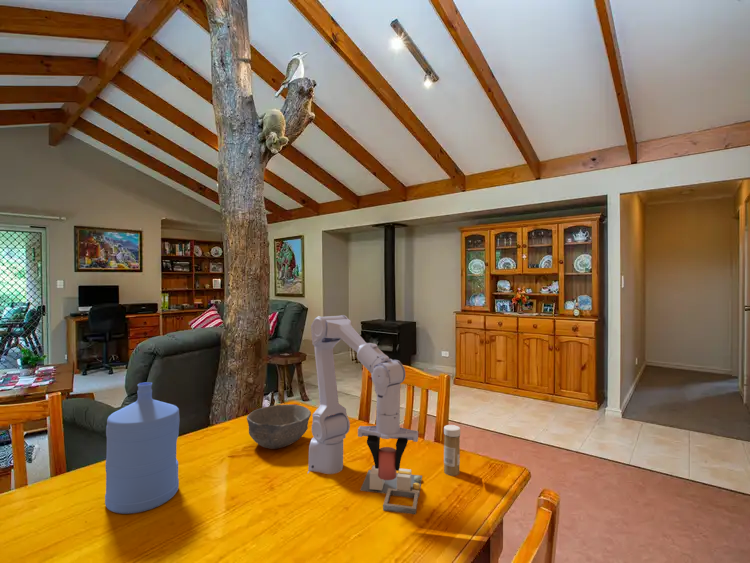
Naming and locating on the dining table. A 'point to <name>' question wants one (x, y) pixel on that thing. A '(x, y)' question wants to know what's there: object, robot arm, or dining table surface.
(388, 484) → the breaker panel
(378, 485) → the toggle
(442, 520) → the dining table surface
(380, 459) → the cap
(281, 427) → the bowl
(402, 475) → the toggle
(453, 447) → the sprinkles bottle
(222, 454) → the dining table surface
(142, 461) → the water jug
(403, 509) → the frame
